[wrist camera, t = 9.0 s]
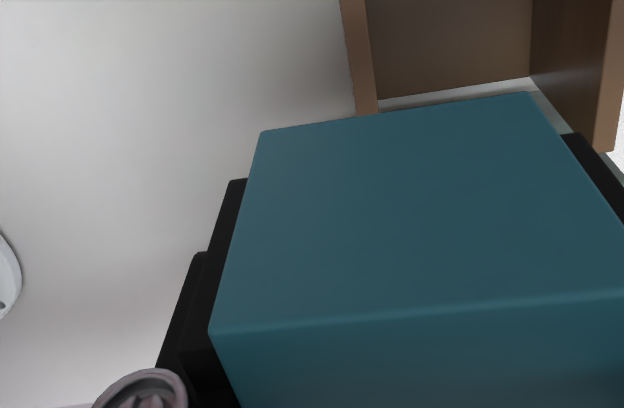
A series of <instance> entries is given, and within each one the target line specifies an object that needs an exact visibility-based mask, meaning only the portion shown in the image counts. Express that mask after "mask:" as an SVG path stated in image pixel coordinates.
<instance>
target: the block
mask: <svg viewBox="0 0 624 408" xmlns="http://www.w3.org/2000/svg"><path fill="white" fill-rule="evenodd" d="M208 335H209V337H210V340H211V342H212V344H213V346H214V348H215V351H216V353H217V355H218V357H219V359H220V362H221V364H222V366H223V368H224V370H225V373H226V375H227V377H228V379H229V381H230V384H231V386H232V388H233V390H234V392H235V395H236V397H237V399H238V401H239V404H240V406H241V408H624V225H623V223H622V222H621V221H620V219H619V218H618V216H617V215H616V214H615V212H614V211H613V209H612V208H611V207H610V205H609V204H608V202H607V201H606V200H605V198H604V197H603V195H602V194H601V193H600V191H599V190H598V188H597V187H596V186H595V184H594V183H593V181H592V180H591V179H590V177H589V176H588V174H587V173H586V172H585V170H584V169H583V167H582V166H581V165H580V163H579V162H578V160H577V159H576V158H575V156H574V155H573V153H572V152H571V151H570V149H569V148H568V146H567V145H566V144H565V142H564V141H563V139H562V138H561V137H560V135H559V134H558V132H557V131H556V129H555V128H554V127H553V125H552V124H551V122H550V121H549V120H548V118H547V117H546V115H545V114H544V113H543V111H542V110H541V108H540V107H539V106H538V104H537V103H536V101H535V100H534V99H533V97H532V96H531V94H530V93H529V92H524V91H523V92H517V93H510V94H503V95H497V96H490V97H483V98H477V99H470V100H464V101H457V102H450V103H444V104H437V105H431V106H424V107H417V108H411V109H404V110H398V111H391V112H384V113H378V114H371V115H365V116H358V117H351V118H345V119H338V120H331V121H325V122H318V123H312V124H305V125H298V126H292V127H285V128H279V129H272V130H265V131H263V132H261V133H260V136H259V139H258V143H257V147H256V150H255V154H254V158H253V162H252V165H251V169H250V173H249V177H248V180H247V184H246V188H245V191H244V195H243V199H242V203H241V206H240V210H239V214H238V218H237V221H236V225H235V229H234V232H233V236H232V240H231V244H230V247H229V251H228V255H227V259H226V262H225V266H224V270H223V273H222V277H221V281H220V285H219V288H218V292H217V296H216V300H215V303H214V307H213V311H212V314H211V318H210V322H209V326H208Z"/></svg>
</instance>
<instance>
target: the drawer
mask: <svg viewBox="0 0 624 408" xmlns="http://www.w3.org/2000/svg"><path fill="white" fill-rule="evenodd" d="M339 4H340V11H341V17H342V24H343V30H344V37H345V44H346V50H347V57H348V63H349V70H350V77H351V83H352V90H353V96H354V103H355V110H356V116H357V117H358V116H365V115H371V114H378V113H379V109H378V101H377V100H383V99H389V98H396V97H402V96H408V95H415V94H421V93H427V92H434V91H440V90H446V89H453V88H459V87H465V86H472V85H478V84H484V83H491V82H497V81H503V80H510V79H516V78H522V77H530V78H531V79H532V81H533V82H534V83H535V84H536V86H537V87H538V88H539V89H540V91H534V92H529V93H530V94H531V96H532V97H533V99H534V100H535V101H536V103H537V104H538V106H539V107H540V108H541V110H542V111H543V113H544V114H545V115H546V117H547V118H548V120H549V121H550V122H551V124H552V125H553V127H554V128H555V129H556V131H557V132H558V134H559V135H560V134H567V133H574V132H580V133H581V134H582V135H583V136H584V137H585V138H586V140H587V141H588V142H589V144H590V145H591V146H592V147H593V149H594V150H595V151H596V152H597V154H598V155H599V156H600V157H601V159H602V160H603V161H604V163H605V164H606V165H607V166H608V168H609V169H610V170H611V171H612V173H613V174H614V175H615V177H616V178H617V179H618V180H619V182H620V183H621V184H622V185H623V187H624V174H623V173H622V172H621V171H620V169H619V168H618V167H617V166H616V165H615V164H614V162H613V161H612V160H611V159H610V158H609V156H608V155H607V154H606V153H605V152H611V151H613V150H614V146H615V140H616V134H617V127H618V121H619V115H620V109H621V103H622V97H623V91H624V0H339Z"/></svg>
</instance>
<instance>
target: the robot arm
mask: <svg viewBox="0 0 624 408" xmlns="http://www.w3.org/2000/svg"><path fill="white" fill-rule="evenodd" d="M560 137H561V138H562V139H563V141H564V142H565V144H566V145H567V146H568V148H569V149H570V151H571V152H572V153H573V155H574V156H575V158H576V159H577V160H578V162H579V163H580V165H581V166H582V167H583V169H584V170H585V172H586V173H587V174H588V176H589V177H590V179H591V180H592V181H593V183H594V184H595V186H596V187H597V188H598V190H599V191H600V193H601V194H602V195H603V197H604V198H605V200H606V201H607V202H608V204H609V205H610V207H611V208H612V209H613V211H614V212H615V214H616V215H617V216H618V218H619V219H620V221H621V222H622V223H623V225H624V187H623V185H622V184H621V183H620V182H619V180H618V179H617V178H616V177H615V175H614V174H613V173H612V171H611V170H610V169H609V168H608V166H607V165H606V164H605V163H604V161H603V160H602V159H601V157H600V156H599V155H598V154H597V152H596V151H595V150H594V149H593V147H592V146H591V145H590V144H589V142H588V141H587V140H586V138H585V137H584V136H583V135H582V134H581V133H580V132H574V133H567V134H560ZM247 180H248V178H243V179H235V180H231V181H230V182H229V184H228V187H227V190H226V193H225V196H224V199H223V203H222V206H221V209H220V212H219V215H218V218H217V221H216V225H215V228H214V231H213V234H212V237H211V240H210V244H209V247H208V250H207V251H204V252H198V253H197V254H195V255H194V257H193V259H192V261H191V264H190V267H189V270H188V273H187V276H186V279H185V281H184V284H183V287H182V290H181V293H180V296H179V299H178V302H177V305H176V307H175V310H174V313H173V316H172V319H171V322H170V325H169V328H168V331H167V333H166V336H165V339H164V342H163V345H162V348H161V351H160V354H159V357H158V359H157V362H156V365H155V368H150V369H143V370H139V371H136V372H134V373H131V374H129V375H126V376H124V377H123V378H121V379H120V380H118V381H117V382H115V383H114V384H112V385H111V386H109V387H108V388H107V389H106V390H105V391H104V392H103V393H102V394H101V395H100V396H99V397H98V398H97V400H96V401H95V403H94V404H93V406H92V407H91V408H241V406H240V404H239V401H238V399H237V397H236V395H235V392H234V390H233V388H232V386H231V384H230V381H229V379H228V377H227V375H226V373H225V370H224V368H223V366H222V364H221V362H220V359H219V357H218V355H217V353H216V351H215V348H214V346H213V344H212V342H211V340H210V337H209V335H208V326H209V322H210V318H211V314H212V311H213V307H214V303H215V300H216V296H217V292H218V288H219V285H220V281H221V277H222V273H223V270H224V266H225V262H226V259H227V255H228V251H229V247H230V244H231V240H232V236H233V232H234V229H235V225H236V221H237V218H238V214H239V210H240V206H241V203H242V199H243V195H244V191H245V188H246V184H247ZM21 284H22V275H21V271H20V267H19V263H18V261H17V259H16V257H15V255H14V253H13V251H12V249H11V248H10V247H9V245H8V244H7V243H6V241H5V240H4V238H3V237H2V236H1V235H0V319H1V318H2V317H3V316H4V315H5V314H6V313H7V312H8V311H9V310H10V309H11V307H12V306H13V304H14V303H15V301H16V300H17V298H18V296H19V293H20V290H21Z"/></svg>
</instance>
